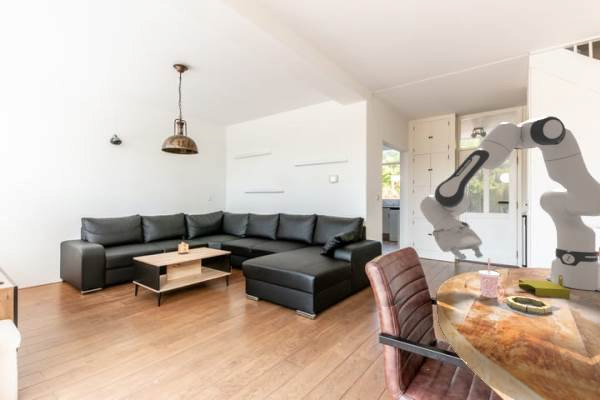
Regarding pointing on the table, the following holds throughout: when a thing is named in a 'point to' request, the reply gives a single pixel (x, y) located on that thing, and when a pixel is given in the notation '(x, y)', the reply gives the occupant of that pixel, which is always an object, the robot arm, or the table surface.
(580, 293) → the table surface
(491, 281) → the beverage cup
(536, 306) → the board
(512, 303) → the socket
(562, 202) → the robot arm
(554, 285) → the bracket
